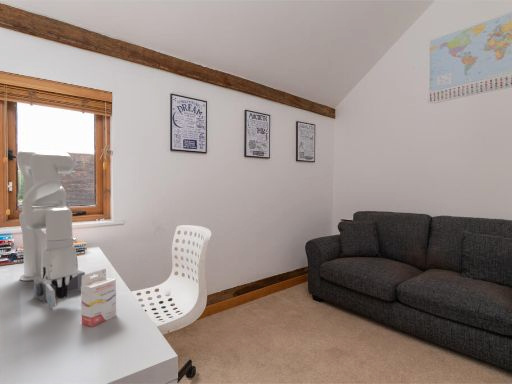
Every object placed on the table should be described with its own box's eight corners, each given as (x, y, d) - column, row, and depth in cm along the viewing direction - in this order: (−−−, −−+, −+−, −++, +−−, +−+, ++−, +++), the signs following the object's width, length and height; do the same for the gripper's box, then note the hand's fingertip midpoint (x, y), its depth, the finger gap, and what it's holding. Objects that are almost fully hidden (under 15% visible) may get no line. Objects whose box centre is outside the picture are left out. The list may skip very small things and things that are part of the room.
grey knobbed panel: (29, 298, 108) (28, 277, 108) (74, 285, 121) (73, 267, 121) (39, 303, 103) (39, 281, 103) (85, 289, 116) (84, 270, 116)
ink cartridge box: (92, 327, 85) (90, 277, 84) (81, 324, 87) (79, 275, 86) (117, 315, 92) (116, 269, 92) (106, 312, 95) (105, 267, 94)
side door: (49, 298, 105) (48, 281, 105) (56, 307, 97) (55, 289, 97) (43, 299, 104) (42, 283, 104) (49, 309, 96) (48, 291, 96)
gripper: (75, 239, 108) (77, 288, 109) (28, 247, 95) (31, 303, 96) (87, 241, 105) (89, 291, 105) (41, 249, 92) (43, 307, 92)
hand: (61, 296), depth 100 cm, fingers closed
